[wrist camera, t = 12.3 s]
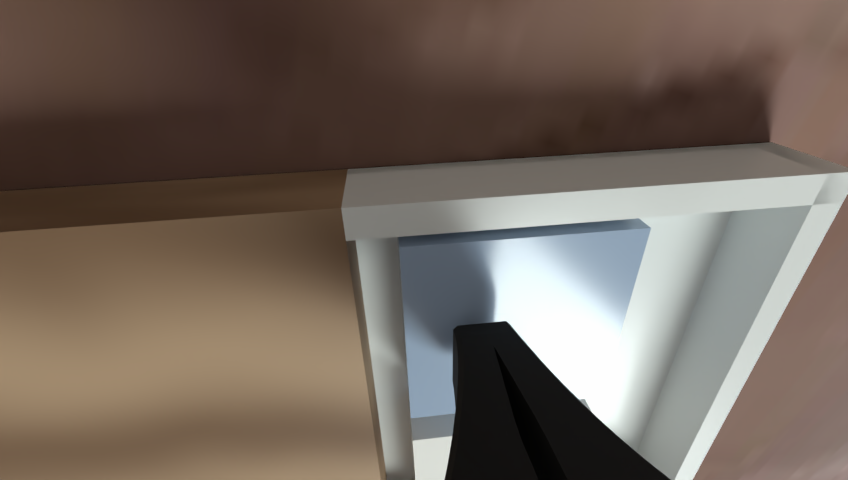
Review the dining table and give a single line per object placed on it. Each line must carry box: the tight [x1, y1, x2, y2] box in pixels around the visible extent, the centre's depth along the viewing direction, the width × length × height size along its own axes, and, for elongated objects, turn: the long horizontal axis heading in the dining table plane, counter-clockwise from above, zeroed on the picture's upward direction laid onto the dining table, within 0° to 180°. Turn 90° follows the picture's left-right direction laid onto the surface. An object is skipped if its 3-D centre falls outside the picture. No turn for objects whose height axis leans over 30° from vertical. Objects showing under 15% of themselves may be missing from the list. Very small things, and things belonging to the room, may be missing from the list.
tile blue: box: [397, 218, 651, 418], centre depth 12 cm, size 6×6×2 cm
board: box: [0, 169, 387, 480], centre depth 13 cm, size 15×14×2 cm
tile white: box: [408, 392, 592, 480], centre depth 15 cm, size 6×6×2 cm
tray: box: [341, 142, 848, 480], centre depth 14 cm, size 15×12×2 cm
